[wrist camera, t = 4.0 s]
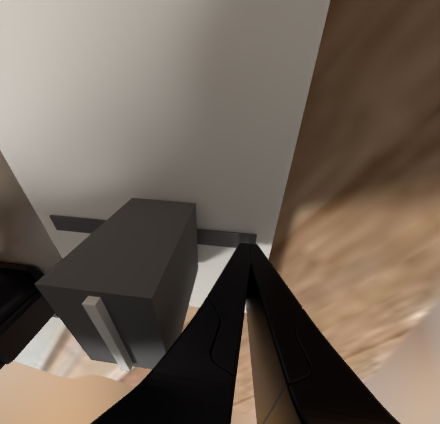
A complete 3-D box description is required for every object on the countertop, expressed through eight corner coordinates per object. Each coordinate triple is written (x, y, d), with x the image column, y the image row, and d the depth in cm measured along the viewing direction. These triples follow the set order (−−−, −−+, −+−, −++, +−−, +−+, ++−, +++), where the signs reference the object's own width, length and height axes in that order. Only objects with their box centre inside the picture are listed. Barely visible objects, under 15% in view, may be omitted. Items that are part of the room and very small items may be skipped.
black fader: (147, 263, 10) (87, 366, 6) (132, 197, 8) (25, 291, 4) (198, 268, 10) (168, 379, 6) (195, 203, 8) (147, 307, 4)
